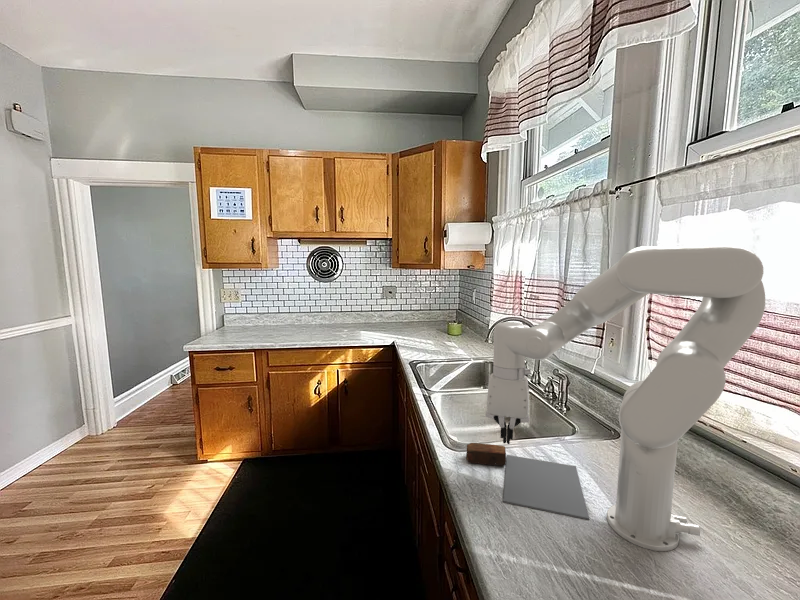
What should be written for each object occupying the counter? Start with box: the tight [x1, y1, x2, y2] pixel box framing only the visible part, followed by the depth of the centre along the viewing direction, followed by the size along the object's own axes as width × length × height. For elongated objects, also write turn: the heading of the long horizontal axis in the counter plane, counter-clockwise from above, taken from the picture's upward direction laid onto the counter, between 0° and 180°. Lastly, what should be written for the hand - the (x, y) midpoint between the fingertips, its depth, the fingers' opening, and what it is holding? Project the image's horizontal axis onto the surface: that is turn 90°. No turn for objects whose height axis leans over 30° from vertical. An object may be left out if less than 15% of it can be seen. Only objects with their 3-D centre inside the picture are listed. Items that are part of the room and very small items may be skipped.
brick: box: [465, 442, 507, 467], centre depth 101 cm, size 11×4×5 cm
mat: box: [502, 454, 590, 521], centre depth 91 cm, size 18×21×1 cm
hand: (506, 441), depth 92 cm, fingers closed
